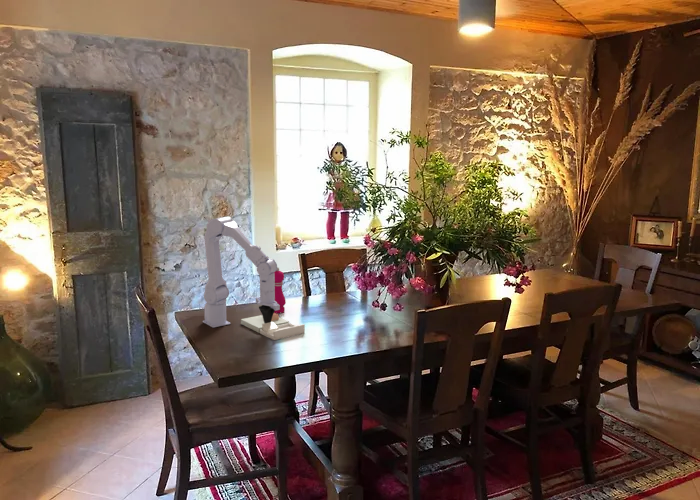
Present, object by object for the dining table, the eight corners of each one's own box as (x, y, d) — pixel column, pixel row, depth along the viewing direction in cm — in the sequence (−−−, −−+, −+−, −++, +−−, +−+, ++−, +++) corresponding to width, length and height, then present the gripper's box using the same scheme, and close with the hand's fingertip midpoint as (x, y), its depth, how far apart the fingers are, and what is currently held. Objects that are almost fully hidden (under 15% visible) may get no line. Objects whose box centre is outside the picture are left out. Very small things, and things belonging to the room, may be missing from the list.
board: (241, 323, 230) (241, 319, 229) (270, 317, 239) (270, 313, 238) (258, 332, 219) (258, 327, 219) (288, 326, 228) (288, 321, 228)
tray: (259, 333, 219) (259, 324, 218) (289, 326, 228) (289, 318, 227) (274, 340, 211) (274, 331, 210) (304, 333, 220) (304, 324, 219)
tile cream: (261, 328, 220) (262, 323, 219) (271, 326, 222) (272, 321, 222) (267, 334, 216) (268, 329, 216) (277, 331, 219) (278, 327, 218)
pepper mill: (265, 312, 246) (265, 267, 243) (275, 308, 253) (275, 264, 249) (279, 314, 243) (279, 269, 240) (288, 310, 249) (288, 266, 246)
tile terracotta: (263, 318, 231) (263, 313, 230) (272, 316, 234) (272, 312, 233) (269, 321, 227) (269, 316, 227) (278, 319, 230) (278, 314, 230)
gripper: (248, 288, 222) (249, 321, 224) (268, 295, 211) (268, 330, 213) (264, 285, 226) (264, 317, 229) (284, 293, 215) (284, 326, 218)
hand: (267, 323), depth 221 cm, fingers closed
